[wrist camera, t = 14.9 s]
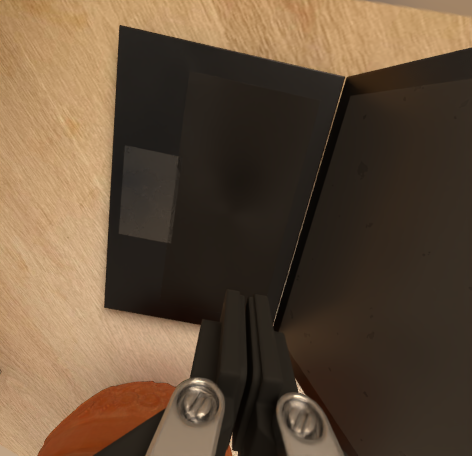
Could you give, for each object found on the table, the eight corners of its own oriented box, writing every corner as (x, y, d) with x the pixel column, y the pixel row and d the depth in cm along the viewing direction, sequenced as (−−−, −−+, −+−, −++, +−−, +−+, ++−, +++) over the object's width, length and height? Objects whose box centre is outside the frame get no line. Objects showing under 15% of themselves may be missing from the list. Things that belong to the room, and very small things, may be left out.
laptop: (110, 299, 33) (103, 308, 32) (127, 33, 25) (118, 24, 23) (267, 327, 34) (269, 337, 33) (338, 81, 26) (345, 76, 24)
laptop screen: (435, 610, 14) (445, 602, 15) (1050, -95, 5) (1039, -72, 6) (269, 337, 33) (275, 336, 33) (345, 76, 24) (352, 79, 24)
